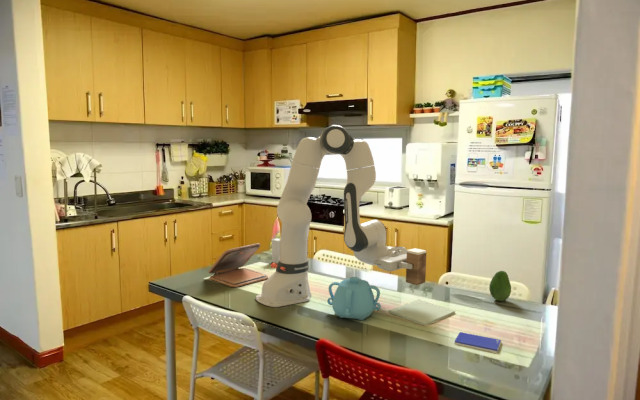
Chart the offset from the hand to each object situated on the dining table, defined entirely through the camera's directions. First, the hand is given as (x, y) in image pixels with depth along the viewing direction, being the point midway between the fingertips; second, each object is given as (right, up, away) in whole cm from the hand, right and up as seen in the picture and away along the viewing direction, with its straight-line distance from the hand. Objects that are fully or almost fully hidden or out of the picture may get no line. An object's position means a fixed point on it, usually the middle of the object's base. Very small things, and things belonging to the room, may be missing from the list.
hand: (418, 265), depth 163 cm
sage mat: (+1, -17, 0) cm, 17 cm away
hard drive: (+13, -21, -25) cm, 35 cm away
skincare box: (-57, -9, +68) cm, 89 cm away
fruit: (+35, -16, +13) cm, 40 cm away
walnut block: (-1, -7, +1) cm, 7 cm away
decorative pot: (-24, -18, -2) cm, 30 cm away
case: (-72, -12, +40) cm, 84 cm away
